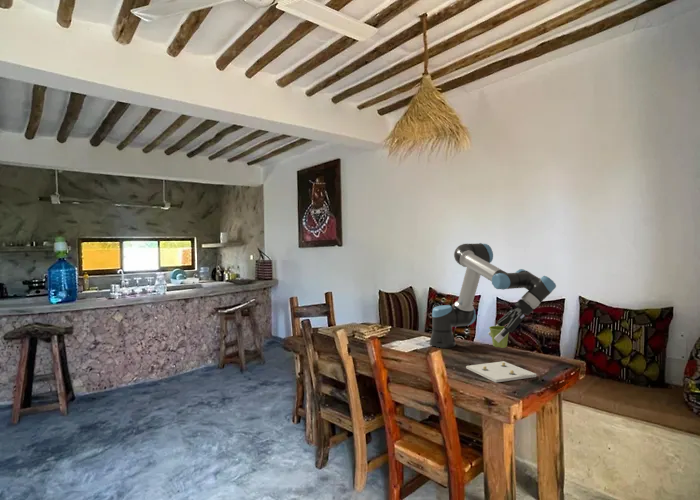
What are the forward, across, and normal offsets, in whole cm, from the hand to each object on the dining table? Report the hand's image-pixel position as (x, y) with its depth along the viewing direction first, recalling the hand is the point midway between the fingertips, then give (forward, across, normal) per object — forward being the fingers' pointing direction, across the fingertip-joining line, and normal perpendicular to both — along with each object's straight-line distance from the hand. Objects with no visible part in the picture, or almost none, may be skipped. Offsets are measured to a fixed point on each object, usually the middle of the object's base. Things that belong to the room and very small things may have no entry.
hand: (493, 338), depth 190 cm
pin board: (+9, 0, -14) cm, 17 cm away
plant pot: (+1, 0, -5) cm, 5 cm away
